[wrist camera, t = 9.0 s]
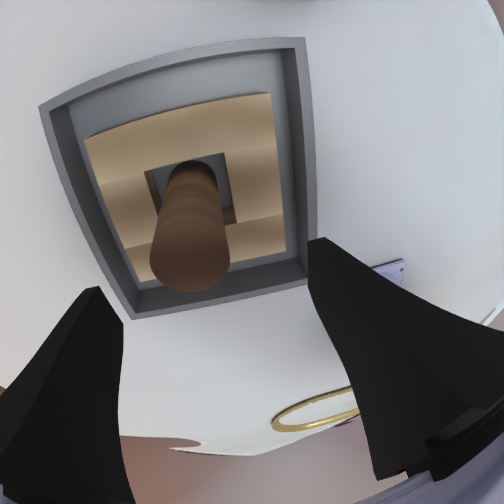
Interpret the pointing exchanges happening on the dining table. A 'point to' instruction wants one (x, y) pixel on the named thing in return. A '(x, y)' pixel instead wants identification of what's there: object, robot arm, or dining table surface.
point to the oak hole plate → (185, 148)
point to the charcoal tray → (178, 94)
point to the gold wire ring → (293, 428)
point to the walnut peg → (190, 231)
